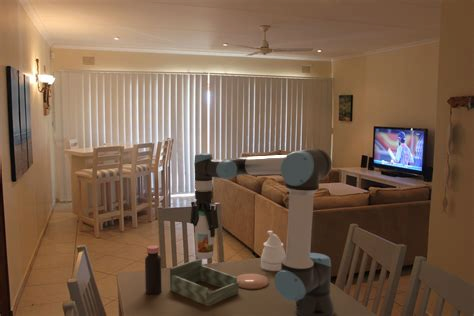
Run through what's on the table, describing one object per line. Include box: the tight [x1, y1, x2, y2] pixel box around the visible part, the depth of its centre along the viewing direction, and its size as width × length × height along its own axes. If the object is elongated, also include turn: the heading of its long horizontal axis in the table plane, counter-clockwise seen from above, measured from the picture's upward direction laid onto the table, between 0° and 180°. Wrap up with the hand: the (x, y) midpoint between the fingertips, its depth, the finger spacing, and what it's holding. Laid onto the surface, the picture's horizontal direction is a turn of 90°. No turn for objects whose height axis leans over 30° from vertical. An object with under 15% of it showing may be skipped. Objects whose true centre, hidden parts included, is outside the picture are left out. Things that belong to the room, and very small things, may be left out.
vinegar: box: [144, 244, 162, 295], centre depth 196 cm, size 7×7×20 cm
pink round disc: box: [236, 273, 269, 290], centre depth 208 cm, size 15×15×2 cm
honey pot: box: [260, 230, 286, 272], centre depth 229 cm, size 13×13×18 cm
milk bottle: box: [194, 211, 214, 260], centre depth 195 cm, size 8×8×20 cm
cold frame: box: [169, 258, 240, 307], centre depth 197 cm, size 24×18×10 cm
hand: (204, 242), depth 195 cm, fingers closed on milk bottle, 8 cm apart
